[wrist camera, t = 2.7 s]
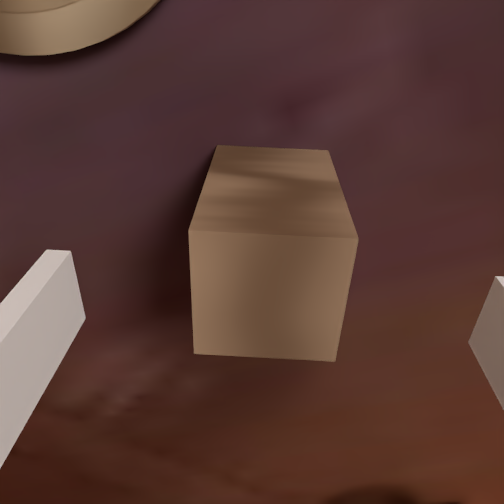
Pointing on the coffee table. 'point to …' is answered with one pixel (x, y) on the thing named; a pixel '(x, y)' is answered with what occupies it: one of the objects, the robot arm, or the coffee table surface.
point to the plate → (64, 23)
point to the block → (270, 255)
